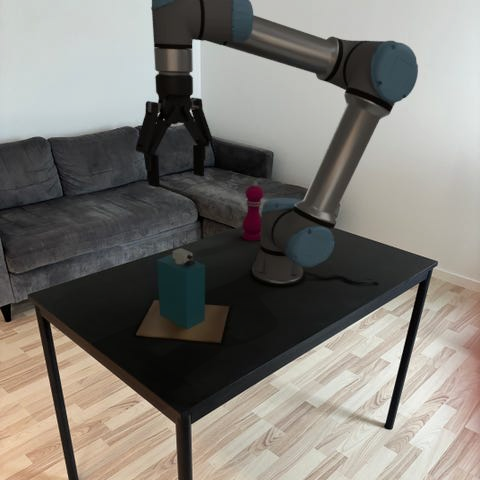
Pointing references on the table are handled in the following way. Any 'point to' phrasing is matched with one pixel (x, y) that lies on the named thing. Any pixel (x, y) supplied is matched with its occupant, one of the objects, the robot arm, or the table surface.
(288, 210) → the robot arm
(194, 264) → the teal box
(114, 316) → the table surface
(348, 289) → the table surface
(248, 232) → the pepper mill
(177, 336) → the cork mat
